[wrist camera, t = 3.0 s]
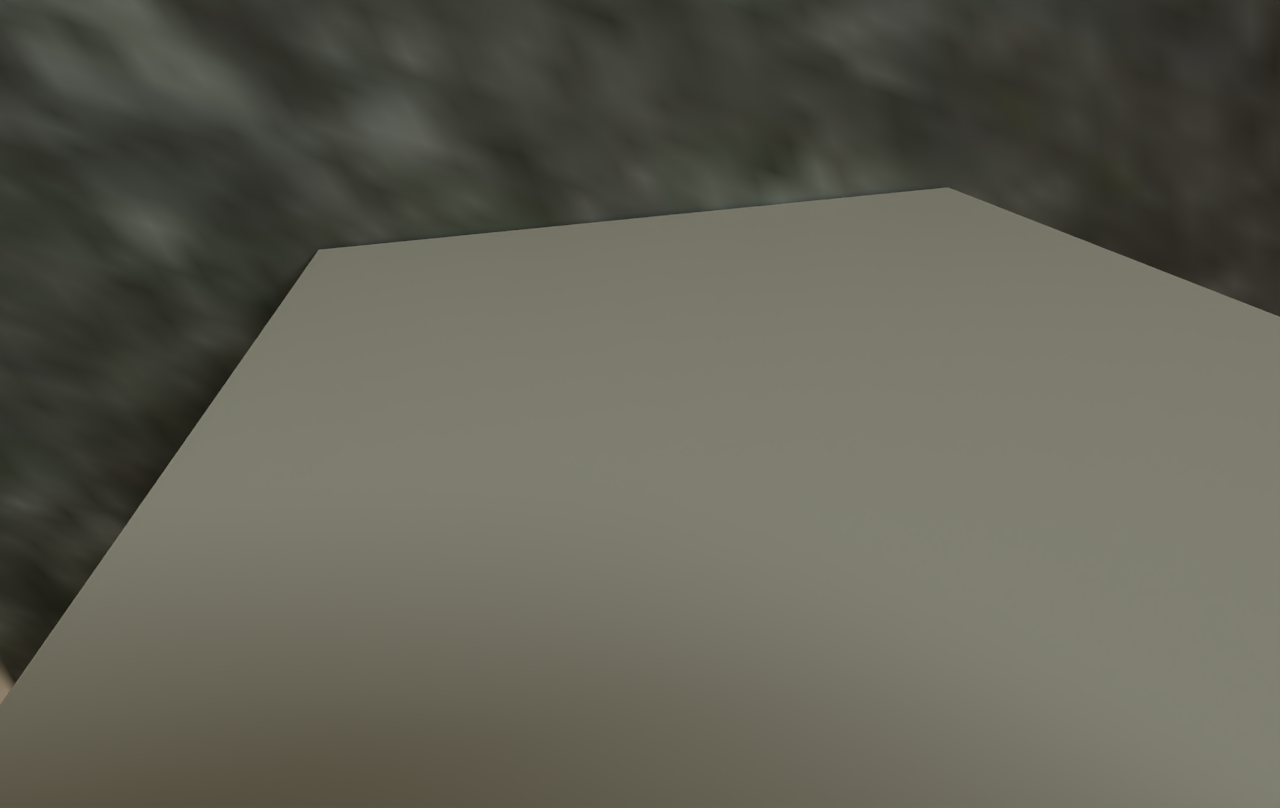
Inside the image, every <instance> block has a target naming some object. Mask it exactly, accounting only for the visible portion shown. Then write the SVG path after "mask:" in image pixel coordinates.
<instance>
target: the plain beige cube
mask: <svg viewBox="0 0 1280 808" xmlns="http://www.w3.org/2000/svg"><path fill="white" fill-rule="evenodd" d="M0 808H1280V317H1278V316H1276V315H1273V314H1271V313H1268V312H1266V311H1263V310H1261V309H1258V308H1255V307H1253V306H1250V305H1248V304H1245V303H1243V302H1240V301H1237V300H1235V299H1232V298H1230V297H1227V296H1225V295H1222V294H1220V293H1217V292H1214V291H1212V290H1209V289H1207V288H1204V287H1202V286H1199V285H1196V284H1194V283H1191V282H1189V281H1186V280H1184V279H1181V278H1179V277H1176V276H1173V275H1171V274H1168V273H1166V272H1163V271H1161V270H1158V269H1156V268H1153V267H1150V266H1148V265H1145V264H1143V263H1140V262H1138V261H1135V260H1132V259H1130V258H1127V257H1125V256H1122V255H1120V254H1117V253H1115V252H1112V251H1109V250H1107V249H1104V248H1102V247H1099V246H1097V245H1094V244H1091V243H1089V242H1086V241H1084V240H1081V239H1079V238H1076V237H1074V236H1071V235H1068V234H1066V233H1063V232H1061V231H1058V230H1056V229H1053V228H1051V227H1048V226H1045V225H1043V224H1040V223H1038V222H1035V221H1033V220H1030V219H1027V218H1025V217H1022V216H1020V215H1017V214H1015V213H1012V212H1010V211H1007V210H1004V209H1002V208H999V207H997V206H994V205H992V204H989V203H986V202H984V201H981V200H979V199H976V198H974V197H971V196H969V195H966V194H963V193H961V192H958V191H956V190H953V189H951V188H938V189H928V190H918V191H907V192H897V193H887V194H877V195H867V196H857V197H847V198H837V199H827V200H817V201H807V202H796V203H786V204H776V205H766V206H756V207H746V208H736V209H726V210H716V211H706V212H696V213H686V214H675V215H665V216H655V217H645V218H635V219H625V220H615V221H605V222H595V223H585V224H575V225H564V226H554V227H544V228H534V229H524V230H514V231H504V232H494V233H484V234H474V235H464V236H453V237H443V238H433V239H423V240H413V241H403V242H393V243H383V244H373V245H363V246H353V247H342V248H332V249H322V250H318V252H317V253H316V254H315V256H314V257H313V259H312V260H311V262H310V263H309V264H308V266H307V267H306V269H305V270H304V272H303V273H302V274H301V276H300V277H299V279H298V280H297V282H296V283H295V284H294V286H293V287H292V289H291V290H290V292H289V293H288V294H287V296H286V297H285V299H284V300H283V302H282V303H281V304H280V306H279V307H278V309H277V310H276V312H275V313H274V314H273V316H272V317H271V319H270V320H269V322H268V323H267V324H266V326H265V327H264V329H263V330H262V332H261V333H260V334H259V336H258V337H257V339H256V340H255V342H254V343H253V344H252V346H251V347H250V349H249V350H248V352H247V353H246V354H245V356H244V357H243V359H242V360H241V362H240V363H239V364H238V366H237V367H236V369H235V370H234V372H233V373H232V374H231V376H230V377H229V379H228V380H227V382H226V383H225V384H224V386H223V387H222V389H221V390H220V392H219V393H218V394H217V396H216V397H215V399H214V400H213V402H212V403H211V404H210V406H209V407H208V409H207V410H206V412H205V413H204V414H203V416H202V417H201V419H200V420H199V422H198V423H197V424H196V426H195V427H194V429H193V430H192V432H191V433H190V434H189V436H188V437H187V439H186V440H185V442H184V443H183V444H182V446H181V447H180V449H179V450H178V452H177V453H176V454H175V456H174V457H173V459H172V460H171V462H170V463H169V464H168V466H167V467H166V469H165V470H164V472H163V473H162V474H161V476H160V477H159V479H158V480H157V482H156V483H155V485H154V486H153V487H152V489H151V490H150V492H149V493H148V495H147V496H146V497H145V499H144V500H143V502H142V503H141V505H140V506H139V507H138V509H137V510H136V512H135V513H134V515H133V516H132V517H131V519H130V520H129V522H128V523H127V525H126V526H125V527H124V529H123V530H122V532H121V533H120V535H119V536H118V537H117V539H116V540H115V542H114V543H113V545H112V546H111V547H110V549H109V550H108V552H107V553H106V555H105V556H104V557H103V559H102V560H101V562H100V563H99V565H98V566H97V567H96V569H95V570H94V572H93V573H92V575H91V576H90V577H89V579H88V580H87V582H86V583H85V585H84V586H83V587H82V589H81V590H80V592H79V593H78V595H77V596H76V597H75V599H74V600H73V602H72V603H71V605H70V606H69V607H68V609H67V610H66V612H65V613H64V615H63V616H62V617H61V619H60V620H59V622H58V623H57V625H56V626H55V627H54V629H53V630H52V632H51V633H50V635H49V636H48V637H47V639H46V640H45V642H44V643H43V645H42V646H41V647H40V649H39V650H38V652H37V653H36V655H35V656H34V657H33V659H32V660H31V662H30V663H29V665H28V666H27V667H26V669H25V670H24V672H23V673H22V675H21V676H20V677H19V679H18V680H17V682H16V683H15V685H14V686H13V687H12V689H11V690H10V692H9V693H8V695H7V696H6V698H5V699H4V701H3V702H2V703H1V705H0Z"/></svg>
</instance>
